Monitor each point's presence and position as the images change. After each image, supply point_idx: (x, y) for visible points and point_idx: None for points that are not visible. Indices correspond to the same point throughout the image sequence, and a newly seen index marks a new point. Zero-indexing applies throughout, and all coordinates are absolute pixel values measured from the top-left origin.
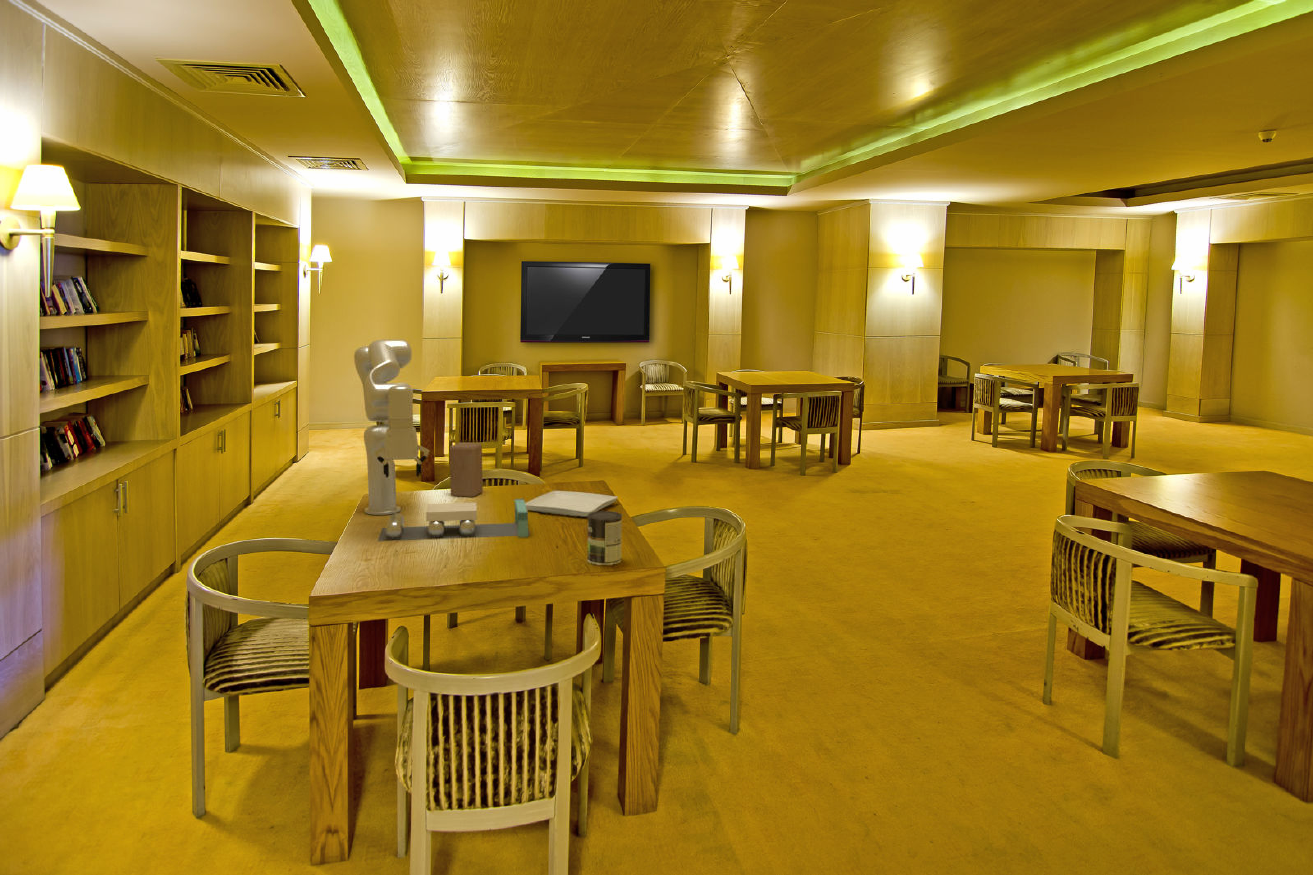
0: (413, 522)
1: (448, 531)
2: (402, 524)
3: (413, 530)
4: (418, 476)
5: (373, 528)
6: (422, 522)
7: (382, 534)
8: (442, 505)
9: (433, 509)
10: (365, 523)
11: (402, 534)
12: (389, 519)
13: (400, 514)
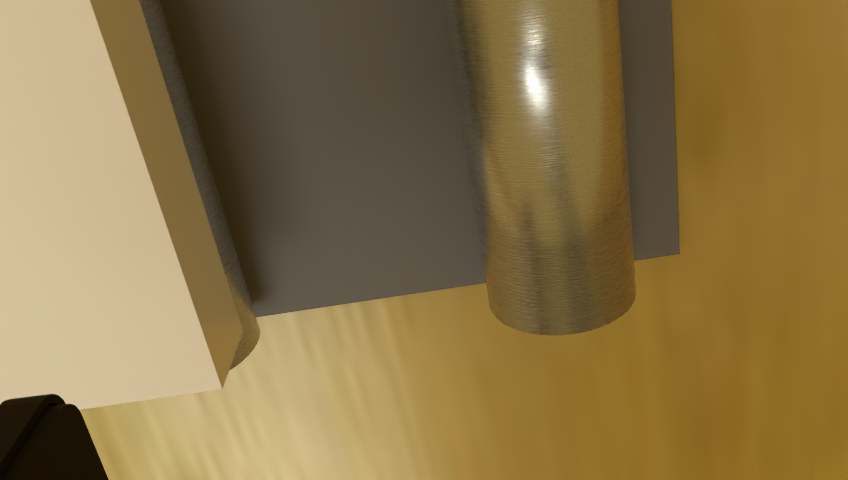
0: (454, 451)
1: None
2: (456, 72)
3: (378, 170)
4: (25, 404)
5: (755, 276)
6: (382, 452)
7: (647, 16)
8: (15, 333)
9: (38, 126)
10: (833, 418)
11: None
12: (618, 172)
13: (529, 322)
